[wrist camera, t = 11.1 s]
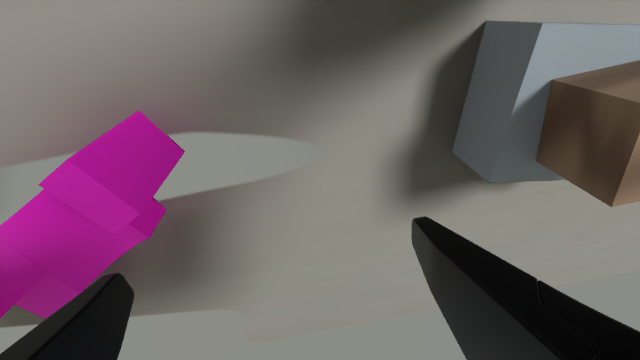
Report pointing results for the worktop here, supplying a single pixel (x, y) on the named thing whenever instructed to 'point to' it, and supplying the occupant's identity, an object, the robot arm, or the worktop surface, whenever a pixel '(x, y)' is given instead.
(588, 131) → the walnut cube
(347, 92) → the worktop surface
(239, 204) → the worktop surface
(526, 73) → the slate base block
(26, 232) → the toy block
